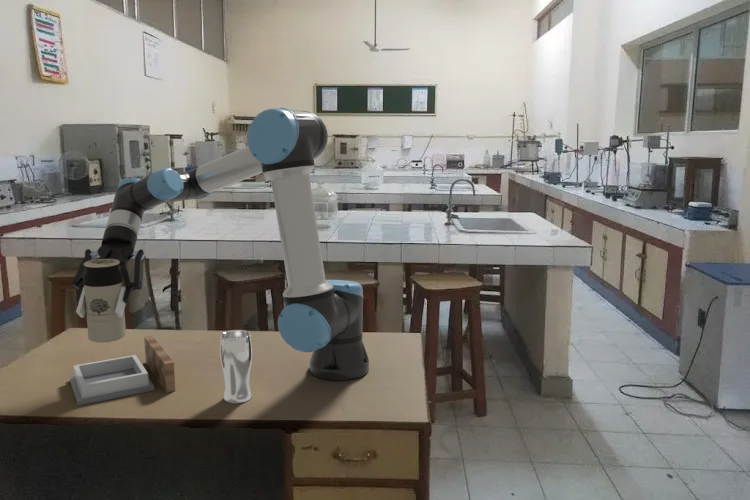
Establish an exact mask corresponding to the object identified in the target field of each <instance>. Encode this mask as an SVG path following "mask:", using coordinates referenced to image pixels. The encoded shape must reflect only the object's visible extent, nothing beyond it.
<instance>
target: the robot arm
mask: <svg viewBox="0 0 750 500" xmlns="http://www.w3.org/2000/svg"><path fill="white" fill-rule="evenodd" d="M246 137H247V138H246V139H247V146H245V147H242V148H239V149H237V150H235V151H232V152H230V153H228V154H225V155H224V156H221V157H218V158H215V159H214V160H211V161H209V162H206V163H204V164H201V165H199V166H198V167H195V168H192V169H189V170H186V171H176V170H174V169H172V168H170V167H163V168H161V169H159V170H155V171H153V172H152V173H151V174H149V175H146V176H145V177H143V178H138V177H137V178H136V177H125V178H123V179H121V181H120V182H119V183H118V187H117V188H116V190H115V193H114V197H113V202H112V204H111V209H110V212H109V216H108V219H107V222H106V224H105V225H106V227H105V230H104V233H103V236H102V240H101V245H100V247H99V248H98V249H97V250H91V249H89V248H88V249H85V251H84V258H83V260H82V262H81V264H80V266H79V268H78V270H77V272H76V274H75V275H74V277H73V280H72V281H71V284H72V285H73V287H74V288H75V289H76V290H77V294H76V295H77V296H76V298H75V299H76V301H77V303H78V305H77V307H76V310H75V312H76V314H77V315H78V317H80V318H85V316H86V302H85V289H84V276H85V273H86V267H85V266H84V263H85V262H87V261H91V260H97V258H98V259H116V260H119V261H120V263H119V266H118V268H120V269H121V274H122V279H123V282H124V286H123V287H122V288H121V291H120V294H119V298H118V302H117V306H116V310H115V312H116V314H117V315H118V317H122V316H123V312H124V313H125V307H126V305H127V304H129V303H130V302H131V299H132V295H133V292H134V291H136V290H139V291H140V290H142V289H143V279H144V278H143V275H144V274H143V273H144V262H145V260H146V258H147V256H146V254H145V251H144V249H139V250H135V248H136V243H137V240H138V235H139V232H140V227H141V224H142V220H143V216H144V213H145V212H147V211H149V210H151V209H154V208H156V207H157V206H159V205H163V204H165V203H166V204H167V203H173V202H180V201H190V200H200V199H204V198H207V197H209V196H211V195H212V193H213V192H217V191H219V190H221V189H224V188H226V187H229V186H232V185H234V184H237V183H240V182H242V181H244V180H247V179H250V178H252V177H255V176H258V175H260V174H262V175H263V176H265V177H266V178H268V179H269V181H270V182H271V189H272V195H273V202H274V207H275V213H276V219H277V225H278V231H279V238H280V245H281V249H282V250H281V251H282V256H283V257H282V258H283V262H284V269H285V275H286V281H287V287H286V288H285V290H284V291H283V293H282V298H283V305H284V308H283V309H282V310H281V312H280V314H279V315H278V319H277V327H278V332H279V334H280V336H281V338H282V340H283V341H284V342H285V343H286V345H289V346H290V347H291V348H292V349H293V350H295V351H298V352H300V353H312V354H311V357H310V359H309V372H310V373H311V374H312V375H313V376H315V377H317V378H320V379H323V380H328V381H329V380H330V381H349V380H354V379H358V378H361V377H362V376H365V375H367V373H368V372H369V370H370V359H369V356H368V352H367V351H366V350H367V349H366V347H365V343H364V341H363V320H364V319H363V318H364V317H363V316H364V313H363V311H364V294H363V293H364V292H363V286H362V284H361V283H359V282H356V281H353V280H341V279H326V275H325V268H324V262H323V256H322V255H323V254H322V249H321V242H320V235H319V229H318V224H317V216H316V211H315V205H314V204H315V203H314V198H313V191H312V185H311V184H312V183H311V178H310V177H311V176H310V175H311V173H312V172H313V170H314V168H315V167H316V166H315V161H314V160H315V159H317V158H318V157H320V155H322V154H323V152H324V151H325V149H326V147H327V144H328V139H329V135H328V129H327V126H326V125H325V123H324V121H323V120H322V119H321V118H320V117H319V116H318V115H317V114H315V113H313V112H311V111H307V110H297V109H289V108H285V107H277V108H267V109H265V110H262V111H261V112H259V113H258V114H256V116H255V117H254V118H253V119H252V122H250V124H249V127H248V130H247V136H246ZM132 258H134V271H133V272H134V273H133V275H134V276H133V281H132V276H131V273H130V270H129V264H128V262H129V261H130V260H131V259H132Z"/></svg>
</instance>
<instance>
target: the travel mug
mask: <svg viewBox="0 0 750 500" xmlns="http://www.w3.org/2000/svg"><path fill="white" fill-rule="evenodd" d="M119 263H120V261H119V260H116V259H99V258H96V260H91V261H87V262H85V263H84V266H85V267H86V273H85V276H84V289H85V302H86V312H85V315H86V324H87V326H86V327H87V336H88V337H87V338H88V340H89V341H91V342H94V343H102V344H103V343H110V342H116V341H119V340H120V339H123V338H124V337H126V335H127V334H126V333H127V331H126V330H127V329H126V318H125V316H126V315H125V311H124V312H123V316H122V317H118V315H117V314H116V312H115V310H116V306H117V302H118V298H119V294H120V291H121V288H122V287H124V286H123V285H124V284H123V274H122V272H121V271H120V269H119V267H118V266H119Z"/></svg>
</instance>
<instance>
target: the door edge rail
mask: <svg viewBox="0 0 750 500" xmlns="http://www.w3.org/2000/svg"><path fill="white" fill-rule="evenodd" d="M143 338H144V340H143V341H144V353H145V358H144V359H145V364H146V365H147V366H148V368H149V369H150V371H151V372H152V374H153V376H154V377H155V379H156V380H157V381H158V383H159V384H160V386H161V387H162V388H163V390H164V392H165V393H166V394H169V393H172V392H176V379H175V378H176V377H175V374H176V373H175V362H174V360H173V359H172V358H171V357H170V356H169V354H168V353H167V352H166V351H165V350H164V348H163V347H162V346H161V344H159V342H158V341H157V339H156V338H155V337H154V336H153V335H149V336H144V337H143Z"/></svg>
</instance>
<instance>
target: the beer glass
mask: <svg viewBox="0 0 750 500" xmlns="http://www.w3.org/2000/svg"><path fill="white" fill-rule="evenodd" d="M251 334H252V333H251V332H250V331H248V330H246V329H244V330H243V329H231V330H227V331H224V332H221V333H220V338H219V339H220V340H219V357H220V365H221V369H222V373H223V378H224V392H223V393H224V394H223V401H225V402H226V403H228V404H234V405H235V404H242V403H247V402H248V401H250V400H251V398H252V392H251V387H250V373H251V369H252V363H253V362H252V360H253V345H252V336H251Z"/></svg>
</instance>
